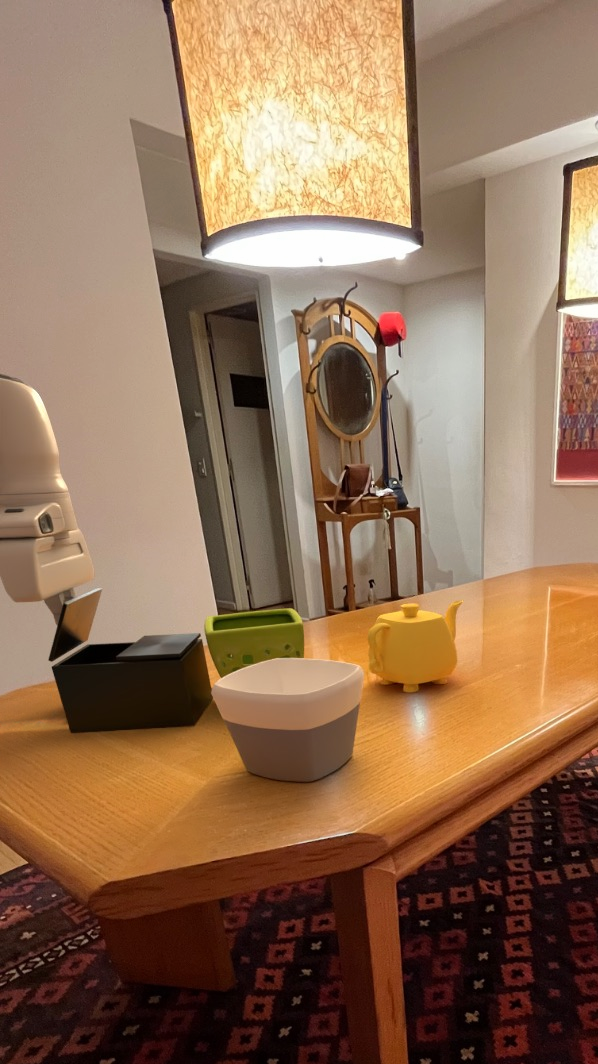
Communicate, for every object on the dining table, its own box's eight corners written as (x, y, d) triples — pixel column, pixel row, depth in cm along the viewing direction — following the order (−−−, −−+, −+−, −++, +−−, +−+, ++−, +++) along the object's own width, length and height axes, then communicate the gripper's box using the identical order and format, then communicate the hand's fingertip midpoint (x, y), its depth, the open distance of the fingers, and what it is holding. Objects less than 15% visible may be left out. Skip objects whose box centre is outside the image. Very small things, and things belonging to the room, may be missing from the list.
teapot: (348, 684, 112) (340, 606, 107) (439, 662, 124) (436, 590, 119) (397, 702, 103) (392, 618, 98) (491, 676, 115) (491, 599, 109)
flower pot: (304, 683, 114) (294, 606, 108) (315, 707, 102) (305, 622, 96) (218, 692, 110) (203, 613, 105) (219, 719, 98) (202, 631, 93)
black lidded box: (70, 733, 95) (49, 660, 90) (103, 704, 106) (85, 638, 102) (194, 725, 96) (179, 653, 91) (213, 698, 108) (200, 632, 103)
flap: (51, 662, 90) (48, 660, 90) (87, 640, 102) (84, 639, 102) (67, 604, 87) (63, 602, 87) (102, 588, 99) (98, 587, 99)
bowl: (285, 734, 92) (274, 653, 87) (385, 748, 86) (379, 663, 81) (209, 778, 79) (190, 686, 74) (320, 798, 74) (308, 700, 69)
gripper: (46, 513, 97) (73, 611, 103) (-28, 524, 79) (9, 642, 85) (91, 512, 98) (115, 609, 104) (28, 522, 80) (61, 639, 86)
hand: (67, 624), depth 94 cm, fingers closed, pressing on flap
